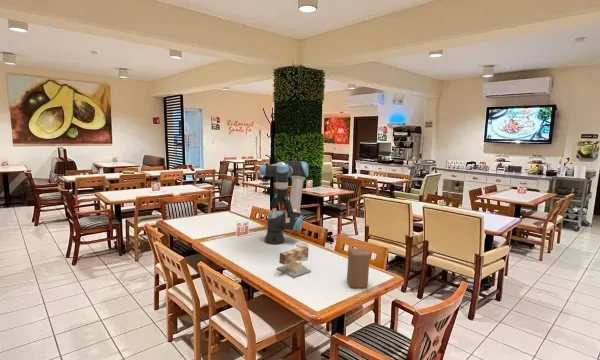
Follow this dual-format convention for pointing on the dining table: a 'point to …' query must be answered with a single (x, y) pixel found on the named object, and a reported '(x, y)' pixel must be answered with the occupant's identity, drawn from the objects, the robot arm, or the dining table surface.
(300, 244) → the cup
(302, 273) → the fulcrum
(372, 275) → the dining table surface
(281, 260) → the oak bar
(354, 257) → the wooden block
